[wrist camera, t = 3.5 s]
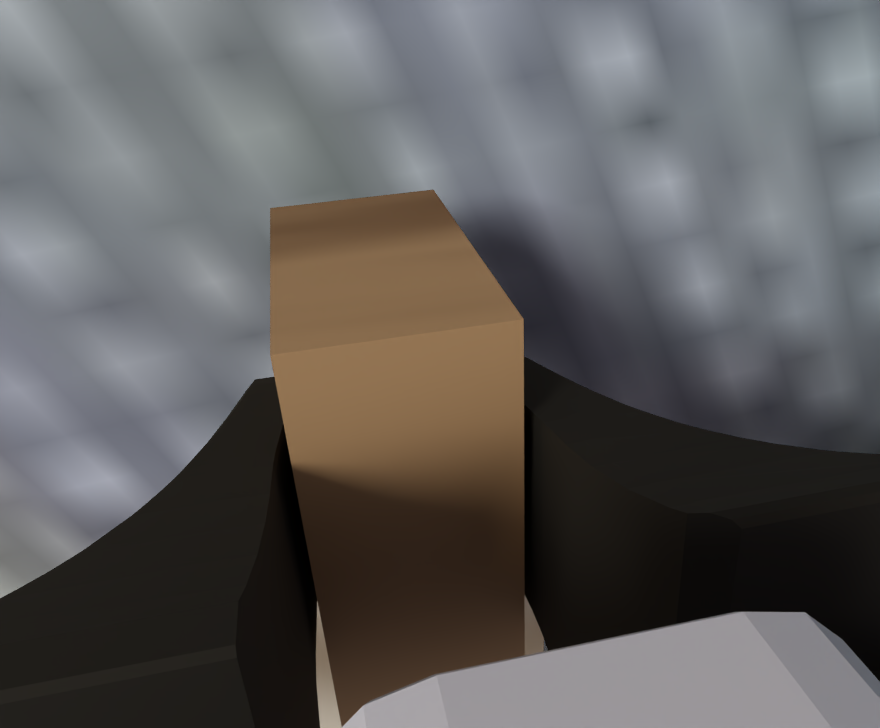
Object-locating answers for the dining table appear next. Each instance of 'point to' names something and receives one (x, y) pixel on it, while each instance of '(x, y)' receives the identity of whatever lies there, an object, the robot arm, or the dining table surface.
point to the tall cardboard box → (400, 442)
